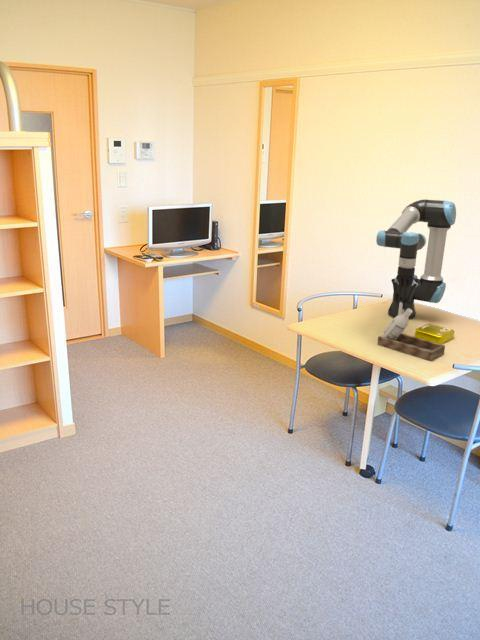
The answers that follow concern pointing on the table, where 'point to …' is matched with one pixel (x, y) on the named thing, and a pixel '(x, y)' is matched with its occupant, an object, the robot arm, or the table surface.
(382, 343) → the brown wooden tray
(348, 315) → the table surface
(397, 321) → the bath foam
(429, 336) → the element tile
